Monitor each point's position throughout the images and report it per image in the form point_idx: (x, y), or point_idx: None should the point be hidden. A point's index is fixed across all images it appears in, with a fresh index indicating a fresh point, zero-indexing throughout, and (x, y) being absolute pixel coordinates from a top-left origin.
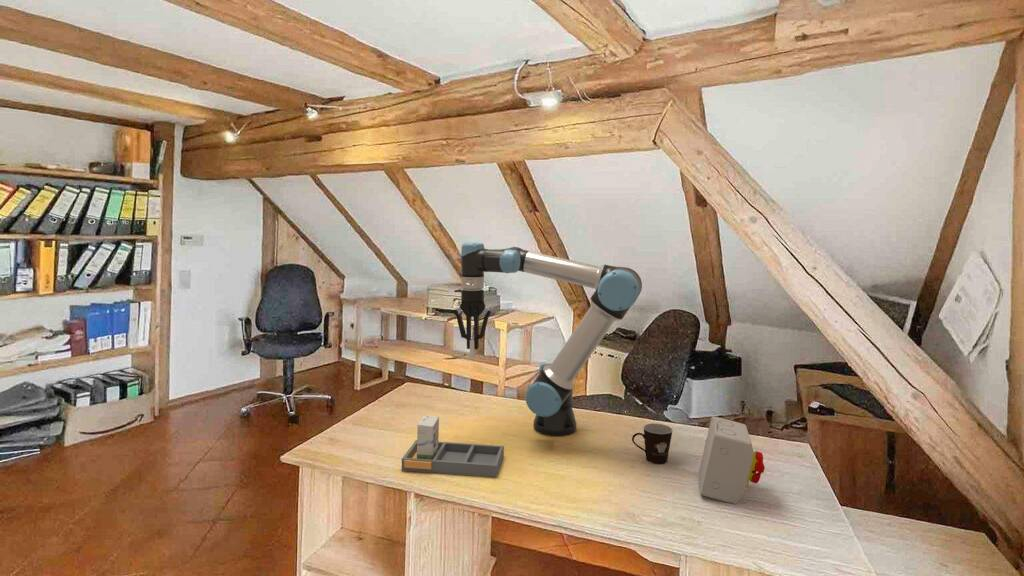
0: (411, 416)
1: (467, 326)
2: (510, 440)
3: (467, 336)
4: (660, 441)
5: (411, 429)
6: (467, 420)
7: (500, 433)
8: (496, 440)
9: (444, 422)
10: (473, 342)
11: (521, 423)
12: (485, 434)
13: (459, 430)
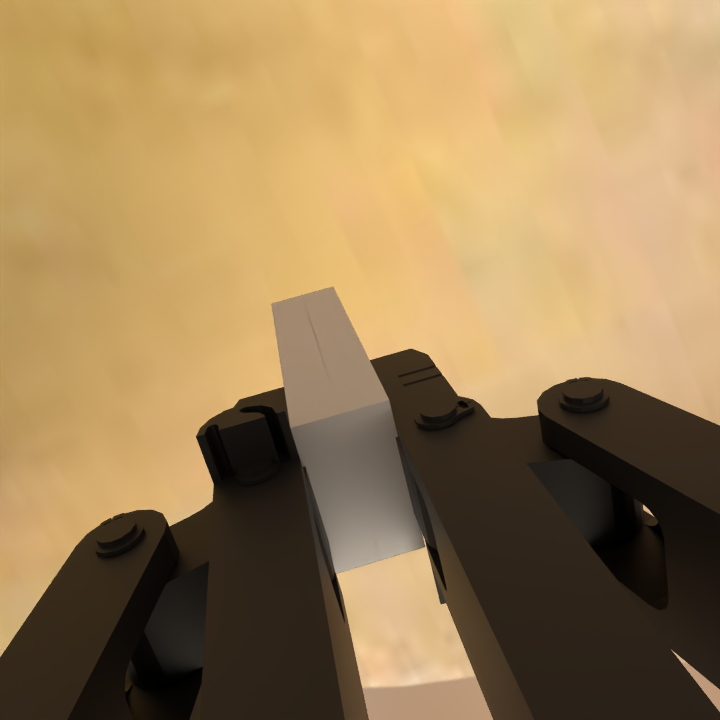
0: (682, 278)
1: (591, 607)
2: (9, 178)
3: (470, 432)
4: None
5: (615, 103)
6: (378, 351)
7: (117, 254)
8: (86, 145)
9: (483, 273)
10: (300, 402)
11: (80, 435)
12: (191, 204)
13: (357, 200)
